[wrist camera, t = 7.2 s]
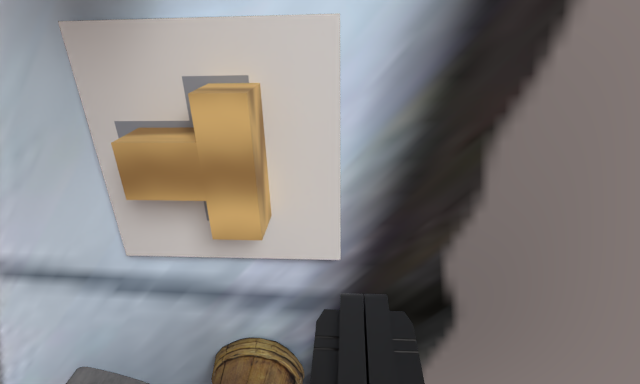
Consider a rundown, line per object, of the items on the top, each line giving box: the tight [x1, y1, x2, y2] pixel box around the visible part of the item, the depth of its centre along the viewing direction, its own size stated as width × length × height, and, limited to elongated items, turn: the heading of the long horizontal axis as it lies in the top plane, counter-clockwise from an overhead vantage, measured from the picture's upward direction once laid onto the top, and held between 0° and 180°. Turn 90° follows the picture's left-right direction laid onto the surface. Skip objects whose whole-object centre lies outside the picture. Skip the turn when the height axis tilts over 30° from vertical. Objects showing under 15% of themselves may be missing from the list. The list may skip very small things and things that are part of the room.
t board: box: [58, 14, 341, 260], centre depth 28 cm, size 18×18×1 cm
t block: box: [111, 83, 272, 240], centre depth 26 cm, size 10×9×4 cm
